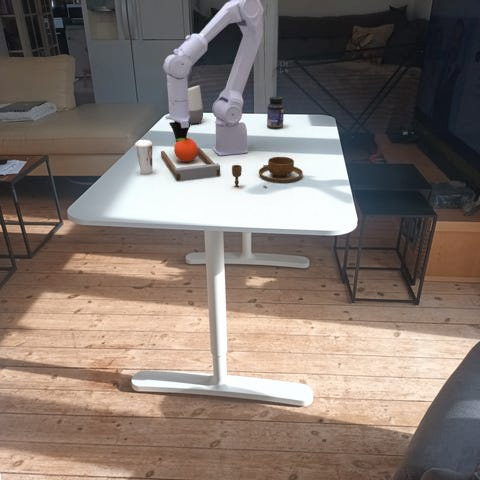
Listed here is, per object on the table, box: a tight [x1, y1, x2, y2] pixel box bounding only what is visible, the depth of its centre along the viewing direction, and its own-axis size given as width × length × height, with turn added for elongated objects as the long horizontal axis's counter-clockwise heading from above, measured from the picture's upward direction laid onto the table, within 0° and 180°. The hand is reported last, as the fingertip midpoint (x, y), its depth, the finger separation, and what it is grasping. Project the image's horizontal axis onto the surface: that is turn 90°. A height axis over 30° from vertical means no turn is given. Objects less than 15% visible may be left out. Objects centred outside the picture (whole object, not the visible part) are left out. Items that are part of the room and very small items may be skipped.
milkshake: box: [134, 133, 154, 175], centre depth 121 cm, size 4×5×10 cm
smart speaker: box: [188, 85, 204, 126], centre depth 172 cm, size 10×9×14 cm
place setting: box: [231, 156, 304, 189], centre depth 119 cm, size 18×20×6 cm
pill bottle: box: [266, 96, 285, 130], centre depth 166 cm, size 6×6×11 cm
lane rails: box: [160, 146, 221, 182], centre depth 127 cm, size 12×22×2 cm, turn 20°
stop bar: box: [174, 163, 221, 182], centre depth 119 cm, size 12×2×3 cm, turn 110°
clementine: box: [172, 137, 198, 163], centre depth 130 cm, size 8×7×7 cm
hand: (181, 146), depth 134 cm, fingers closed
